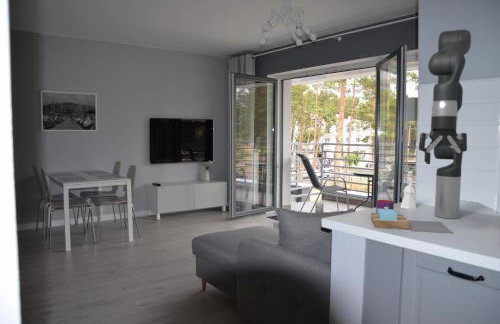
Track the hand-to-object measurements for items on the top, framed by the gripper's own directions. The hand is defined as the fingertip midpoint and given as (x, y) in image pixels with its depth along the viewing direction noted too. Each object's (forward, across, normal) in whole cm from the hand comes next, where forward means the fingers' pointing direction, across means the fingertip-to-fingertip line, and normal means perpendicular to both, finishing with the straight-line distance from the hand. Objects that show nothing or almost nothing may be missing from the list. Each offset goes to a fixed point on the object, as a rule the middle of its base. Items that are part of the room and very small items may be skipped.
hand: (441, 164), depth 130 cm
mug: (+25, +12, -30) cm, 41 cm away
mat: (+25, 0, -14) cm, 29 cm away
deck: (+25, +13, -16) cm, 32 cm away
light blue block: (+22, +14, -16) cm, 31 cm away
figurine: (+26, -2, -52) cm, 58 cm away
